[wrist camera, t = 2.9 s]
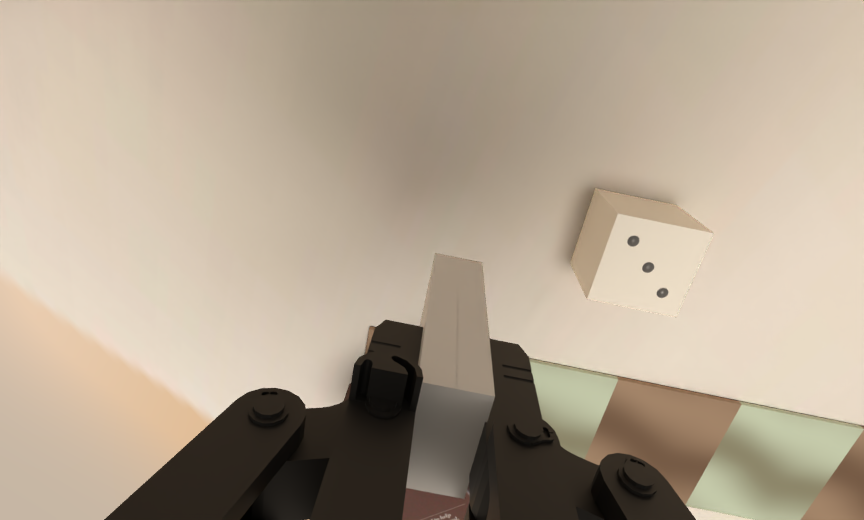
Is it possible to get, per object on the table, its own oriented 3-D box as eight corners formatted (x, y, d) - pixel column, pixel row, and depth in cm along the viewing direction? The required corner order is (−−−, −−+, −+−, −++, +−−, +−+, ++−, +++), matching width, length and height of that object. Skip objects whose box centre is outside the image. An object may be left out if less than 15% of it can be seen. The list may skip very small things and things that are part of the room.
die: (594, 187, 24) (618, 214, 20) (676, 204, 24) (715, 234, 20) (569, 262, 25) (587, 300, 22) (646, 278, 25) (677, 318, 22)
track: (370, 326, 28) (369, 329, 27) (980, 450, 28) (985, 454, 28) (352, 435, 31) (350, 439, 30) (900, 545, 31) (904, 549, 31)
